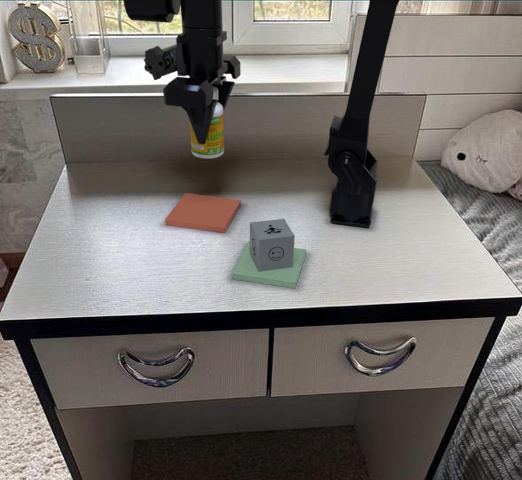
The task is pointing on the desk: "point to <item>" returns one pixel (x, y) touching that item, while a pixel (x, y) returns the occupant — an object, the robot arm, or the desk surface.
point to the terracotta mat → (203, 213)
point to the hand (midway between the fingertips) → (207, 137)
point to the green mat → (277, 277)
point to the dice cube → (271, 244)
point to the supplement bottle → (211, 135)
